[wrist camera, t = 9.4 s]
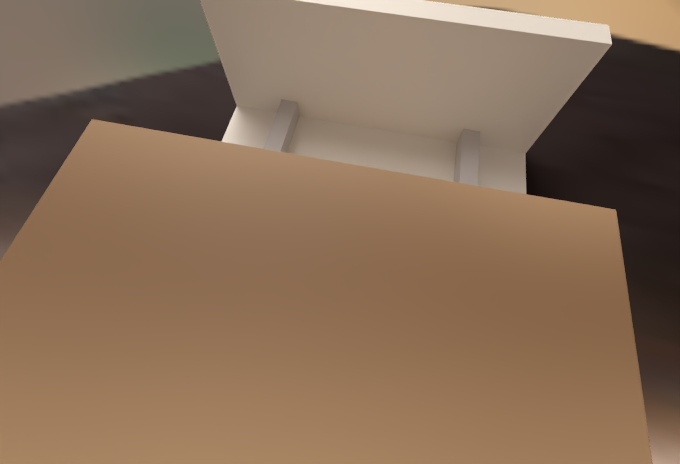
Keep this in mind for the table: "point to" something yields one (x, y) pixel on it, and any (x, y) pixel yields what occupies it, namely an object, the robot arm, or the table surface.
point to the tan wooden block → (308, 316)
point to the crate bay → (400, 82)
